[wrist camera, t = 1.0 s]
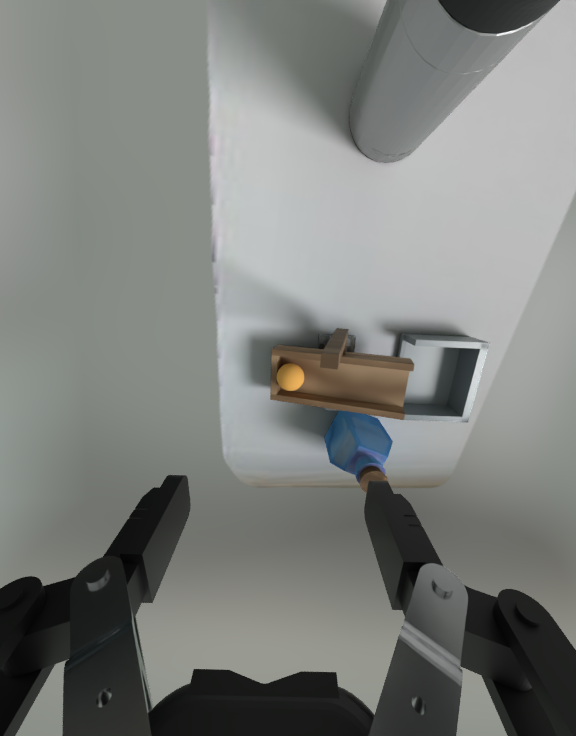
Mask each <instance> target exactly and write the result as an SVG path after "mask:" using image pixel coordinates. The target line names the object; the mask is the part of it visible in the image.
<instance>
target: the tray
mask: <svg viewBox="0 0 576 736" xmlns="http://www.w3.org/2000/svg"><path fill="white" fill-rule="evenodd" d="M489 344H490V343H489V342H485V341H482V340H479V339H476V338H472V337H466V336H442V335H419V334H401V338H400V343H399V349H398V355H397V357H401V358H411V360H412V361H413V363H414V370H413V371H410V372H409V377H408V383H407V388H406V393H405V398H404V404H403V409H404V412H405V417H404V420H419V421H444V422H468V420H469V417H470V413H471V410H472V406H473V402H474V399H475V395H476V391H477V388H478V384H479V381H480V377H481V373H482V370H483V366H484V362H485V359H486V355H487V352H488V348H489Z"/></svg>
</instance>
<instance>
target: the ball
mask: <svg viewBox="0 0 576 736" xmlns="http://www.w3.org/2000/svg"><path fill="white" fill-rule="evenodd" d="M277 382H278V384H279V385H280V387H281V388H283V389H284V390H287V391H294V390H297V389H298V388H300V387H301V386H302V384H303V382H304V372H303V370H302V369H301V368H300V367H299V366H298V365H296V364H293V363H288V364H285V365H283V366H282V367H281V368H280V369H279V370H278V372H277Z"/></svg>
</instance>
